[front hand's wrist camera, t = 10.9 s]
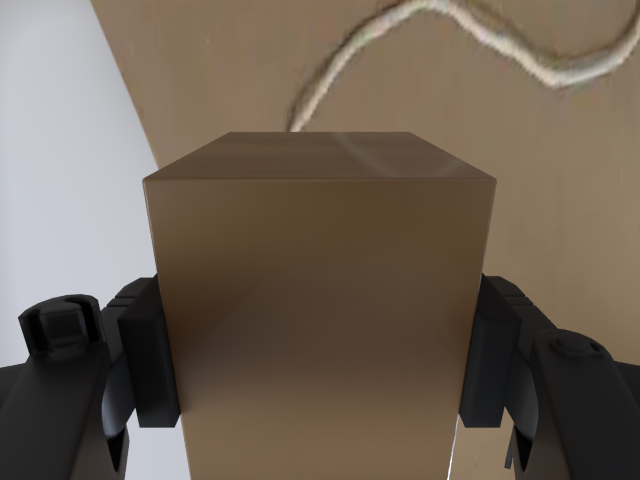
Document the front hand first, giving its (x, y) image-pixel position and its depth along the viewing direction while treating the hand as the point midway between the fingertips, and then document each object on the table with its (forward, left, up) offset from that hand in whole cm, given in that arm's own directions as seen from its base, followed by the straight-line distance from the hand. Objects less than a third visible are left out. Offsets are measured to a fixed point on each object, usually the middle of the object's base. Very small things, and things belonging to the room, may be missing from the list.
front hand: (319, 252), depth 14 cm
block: (0, 0, -1) cm, 1 cm away
